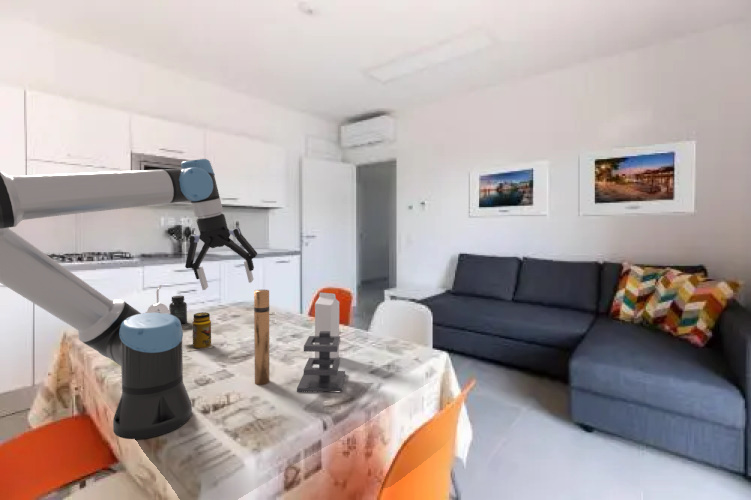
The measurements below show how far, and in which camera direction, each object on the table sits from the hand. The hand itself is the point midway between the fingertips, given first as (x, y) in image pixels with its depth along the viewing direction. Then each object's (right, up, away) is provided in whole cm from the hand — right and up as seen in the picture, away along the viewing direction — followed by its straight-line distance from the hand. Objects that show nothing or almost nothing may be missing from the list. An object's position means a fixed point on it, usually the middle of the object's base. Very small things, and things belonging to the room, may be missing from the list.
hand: (228, 284), depth 111 cm
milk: (+28, -26, +13) cm, 40 cm away
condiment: (-19, -25, +22) cm, 38 cm away
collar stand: (+29, -27, -6) cm, 40 cm away
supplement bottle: (-43, -22, +52) cm, 71 cm away
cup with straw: (-38, -24, +30) cm, 54 cm away
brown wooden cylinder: (+12, -27, -6) cm, 30 cm away
